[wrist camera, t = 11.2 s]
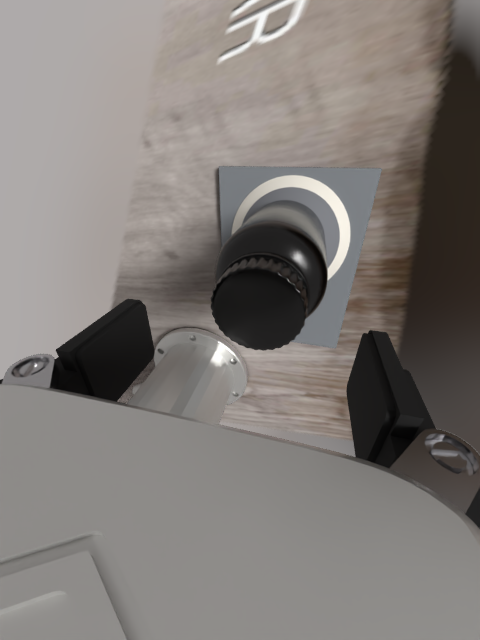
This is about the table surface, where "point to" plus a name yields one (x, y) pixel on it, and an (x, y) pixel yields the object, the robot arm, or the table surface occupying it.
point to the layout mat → (332, 210)
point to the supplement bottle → (270, 276)
